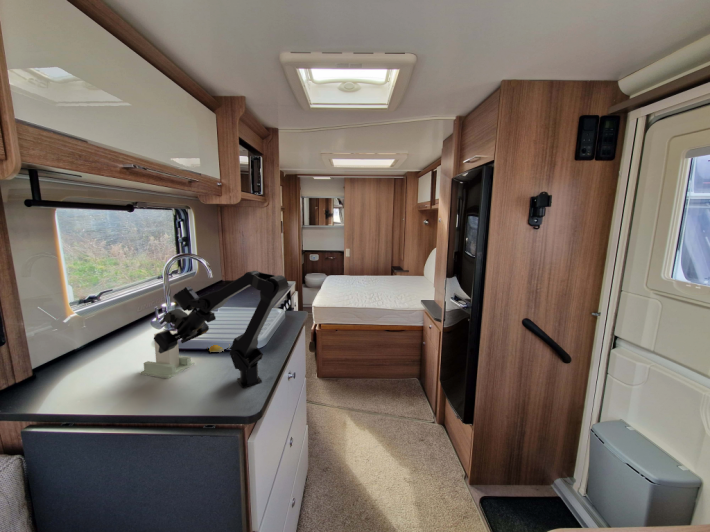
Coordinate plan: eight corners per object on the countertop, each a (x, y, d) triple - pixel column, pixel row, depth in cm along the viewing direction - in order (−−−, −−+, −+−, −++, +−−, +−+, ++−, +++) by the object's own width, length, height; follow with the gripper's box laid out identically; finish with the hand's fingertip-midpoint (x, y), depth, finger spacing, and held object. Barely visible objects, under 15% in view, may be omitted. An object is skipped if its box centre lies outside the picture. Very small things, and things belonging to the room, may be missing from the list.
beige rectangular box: (179, 365, 103) (177, 331, 101) (170, 370, 99) (167, 335, 97) (166, 363, 104) (164, 330, 103) (156, 368, 100) (154, 333, 99)
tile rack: (193, 364, 106) (193, 355, 105) (168, 378, 95) (168, 369, 95) (167, 360, 108) (167, 351, 108) (140, 374, 98) (139, 364, 97)
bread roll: (211, 355, 114) (211, 346, 113) (206, 348, 121) (205, 339, 120) (232, 350, 119) (232, 341, 119) (226, 343, 126) (225, 335, 125)
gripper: (200, 297, 106) (178, 322, 110) (156, 310, 88) (131, 340, 92) (219, 318, 105) (196, 343, 109) (178, 336, 87) (152, 365, 91)
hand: (171, 347), depth 100 cm, fingers open, 9 cm apart
